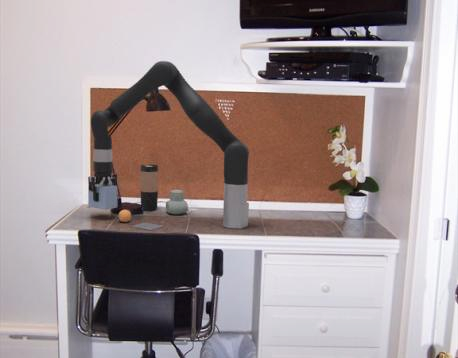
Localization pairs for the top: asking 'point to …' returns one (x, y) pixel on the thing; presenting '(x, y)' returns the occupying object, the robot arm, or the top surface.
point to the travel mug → (149, 187)
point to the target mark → (147, 226)
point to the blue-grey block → (104, 197)
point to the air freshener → (176, 203)
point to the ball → (124, 215)
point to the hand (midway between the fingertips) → (102, 200)
